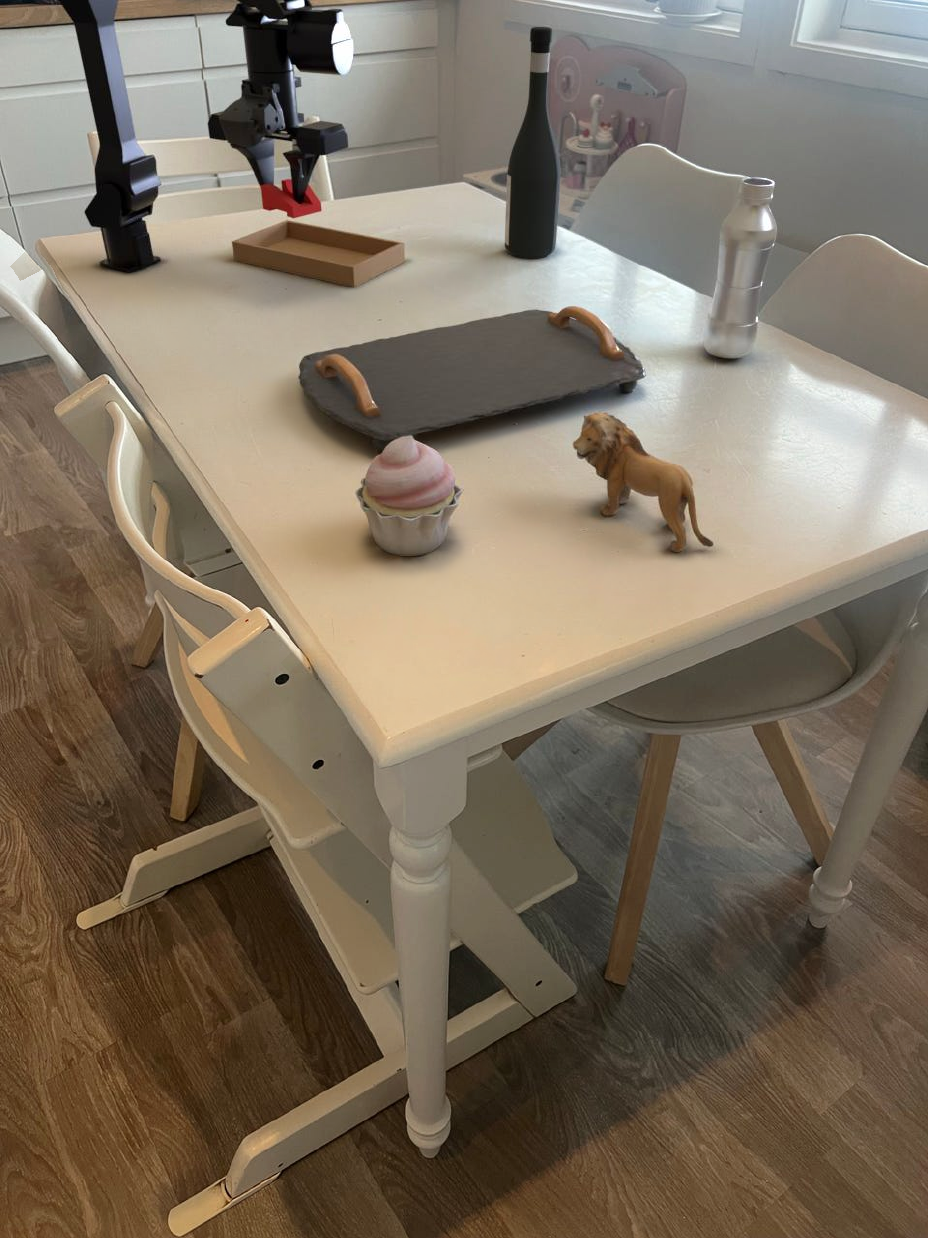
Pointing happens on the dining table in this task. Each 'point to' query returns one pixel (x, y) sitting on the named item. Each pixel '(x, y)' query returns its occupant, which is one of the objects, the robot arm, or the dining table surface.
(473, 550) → the dining table surface
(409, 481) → the cupcake
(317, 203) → the bracket
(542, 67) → the wine bottle
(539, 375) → the serving tray
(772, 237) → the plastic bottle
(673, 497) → the lion figurine
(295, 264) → the cardboard box
